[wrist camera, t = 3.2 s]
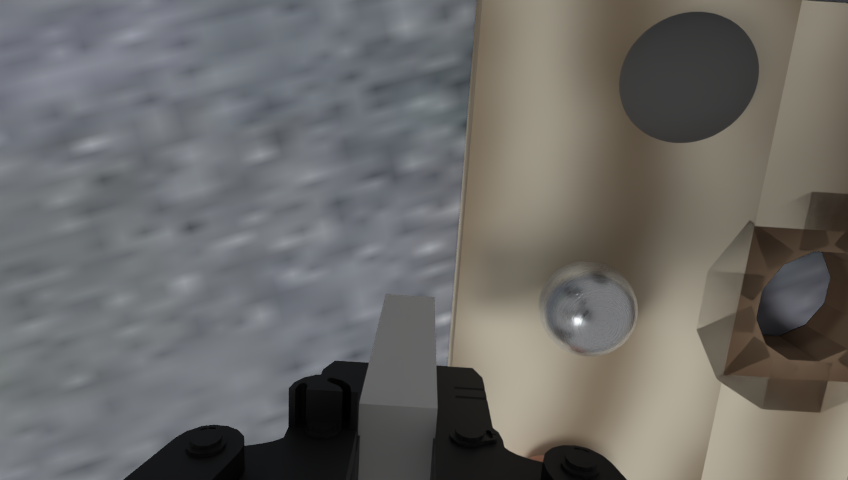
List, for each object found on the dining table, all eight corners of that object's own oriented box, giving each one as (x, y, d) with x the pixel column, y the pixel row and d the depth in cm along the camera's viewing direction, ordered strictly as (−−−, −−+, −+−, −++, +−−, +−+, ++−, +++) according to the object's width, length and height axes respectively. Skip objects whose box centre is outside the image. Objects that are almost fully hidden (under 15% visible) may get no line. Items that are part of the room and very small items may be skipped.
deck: (437, 487, 26) (438, 526, 24) (477, -7, 21) (484, -22, 19) (829, 510, 26) (870, 550, 24) (964, 26, 21) (1034, 15, 19)
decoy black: (611, 18, 19) (659, -6, 15) (725, 26, 19) (804, 4, 15) (595, 135, 20) (637, 142, 16) (705, 142, 20) (773, 151, 16)
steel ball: (535, 247, 21) (556, 274, 17) (624, 253, 21) (661, 280, 18) (526, 330, 22) (544, 370, 18) (611, 335, 22) (645, 377, 18)
